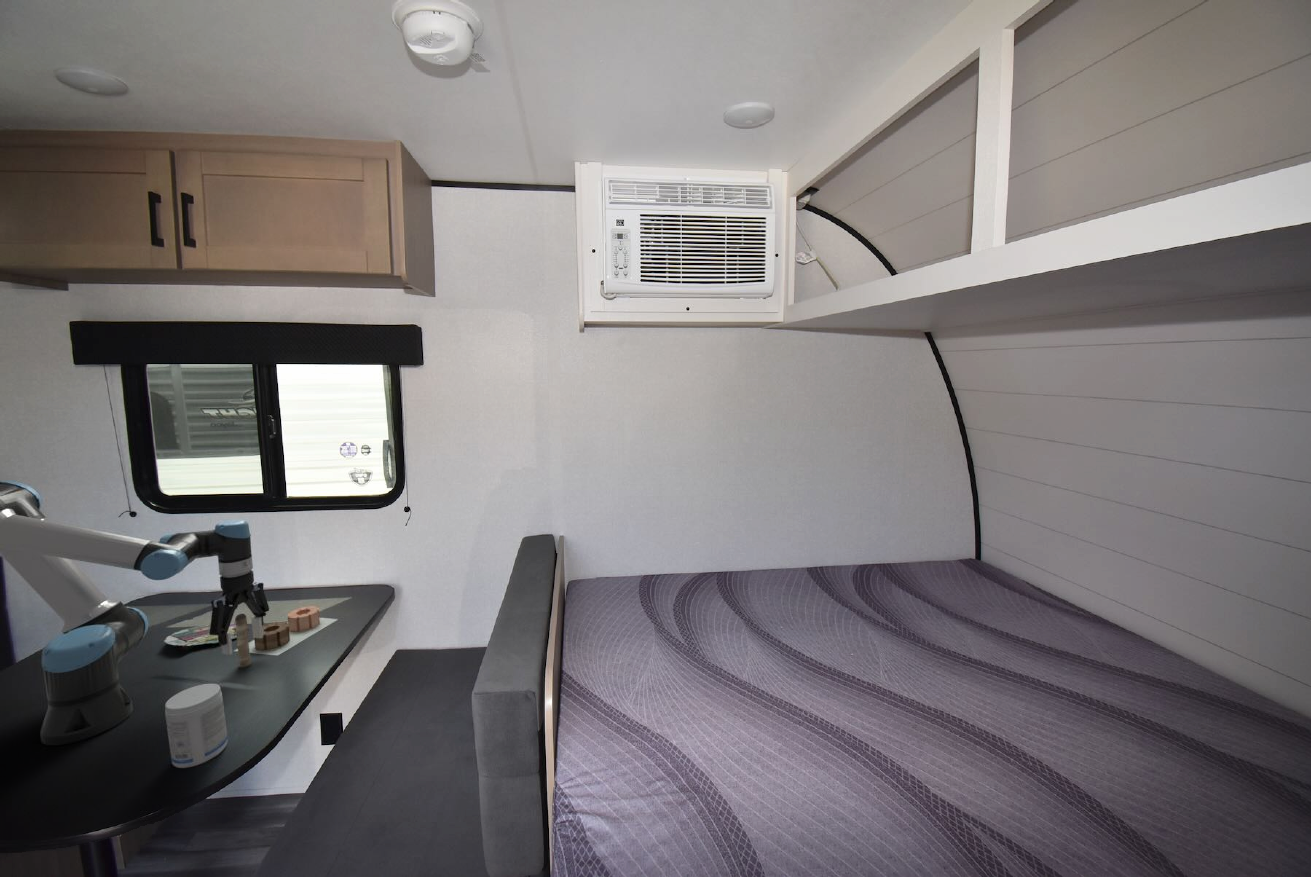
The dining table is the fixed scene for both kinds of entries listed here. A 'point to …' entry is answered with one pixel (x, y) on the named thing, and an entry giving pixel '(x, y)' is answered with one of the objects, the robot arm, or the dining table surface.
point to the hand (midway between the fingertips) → (243, 645)
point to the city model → (196, 636)
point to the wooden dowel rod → (242, 640)
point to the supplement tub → (196, 725)
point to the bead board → (292, 638)
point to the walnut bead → (273, 636)
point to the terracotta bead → (303, 618)
